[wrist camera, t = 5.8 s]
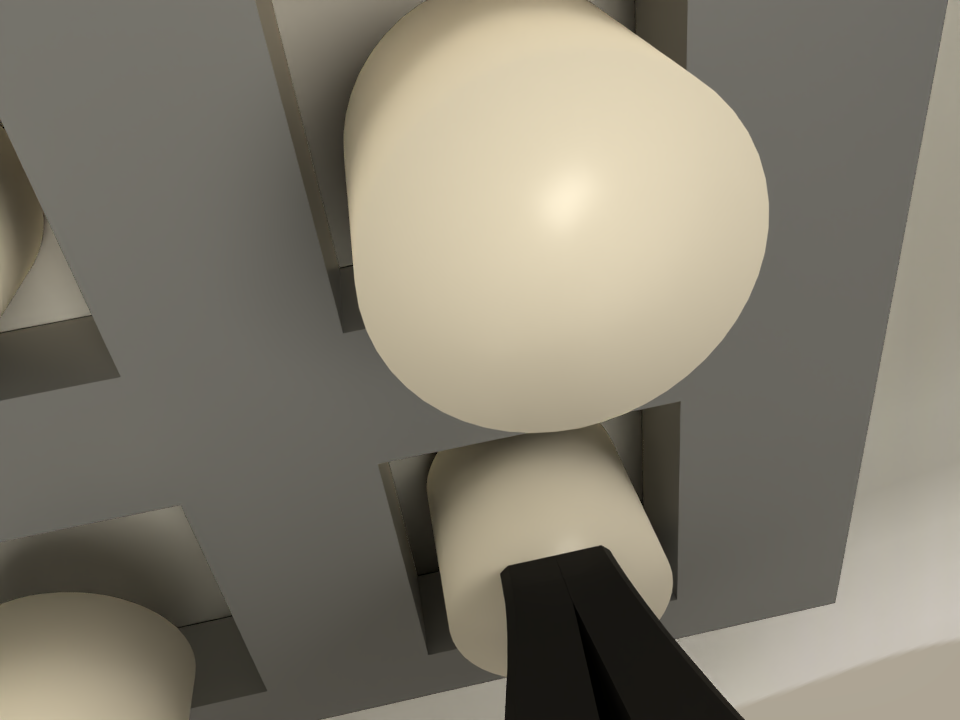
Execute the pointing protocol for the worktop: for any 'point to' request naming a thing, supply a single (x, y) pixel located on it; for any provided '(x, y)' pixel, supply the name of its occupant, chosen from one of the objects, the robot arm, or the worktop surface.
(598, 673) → the robot arm
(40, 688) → the button
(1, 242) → the button
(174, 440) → the button board
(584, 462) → the button
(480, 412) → the button
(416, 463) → the worktop surface
